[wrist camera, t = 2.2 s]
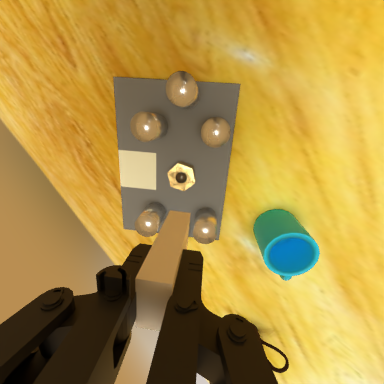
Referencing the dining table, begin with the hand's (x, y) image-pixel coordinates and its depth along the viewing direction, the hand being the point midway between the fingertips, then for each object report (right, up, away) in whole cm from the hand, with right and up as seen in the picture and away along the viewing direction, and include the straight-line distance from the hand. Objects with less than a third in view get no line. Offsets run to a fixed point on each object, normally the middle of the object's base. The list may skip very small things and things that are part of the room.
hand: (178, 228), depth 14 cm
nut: (-1, +6, +21) cm, 21 cm away
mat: (-3, +7, +21) cm, 22 cm away
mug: (+18, -6, +24) cm, 30 cm away
